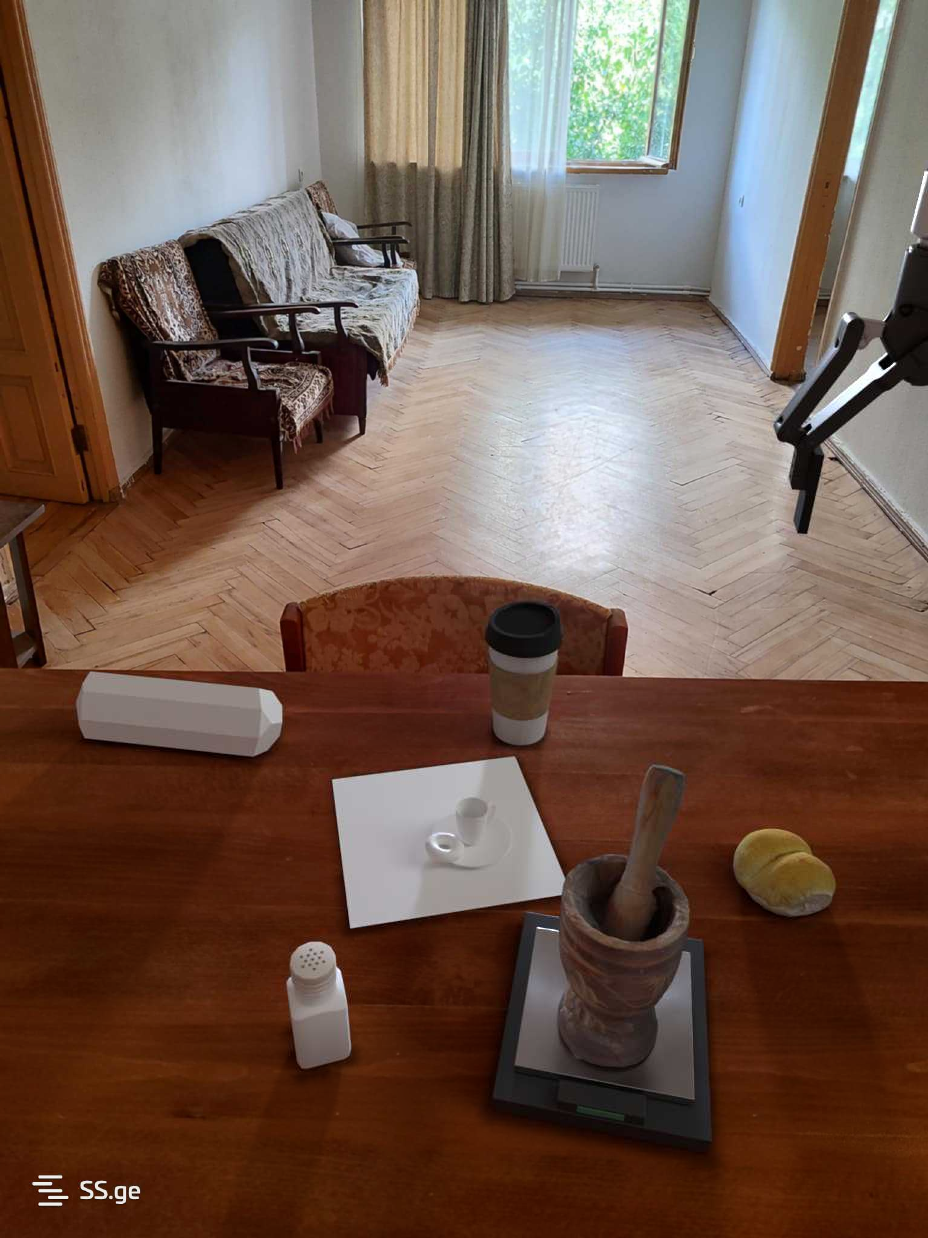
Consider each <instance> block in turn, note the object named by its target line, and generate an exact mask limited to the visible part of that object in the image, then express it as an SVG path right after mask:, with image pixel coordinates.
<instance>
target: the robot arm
mask: <svg viewBox="0 0 928 1238" xmlns="http://www.w3.org/2000/svg"><path fill="white" fill-rule="evenodd" d="M910 234H911V235H912V236H913V237H914V238H915V239H917V241H916V243H914V244H911V245H910V246H909V248H908V249H906V250H905V252H904V257H903V261H902V265H901V269H900V273H899V277H898V281H897V286H896V289H895V294H894V299H893V302H892V306H891V308H890V311H889V312H888V314H887V316H886V317H885V318H884V319H883V320H880V319H875V318H868V317H863V316H860V315H859V314H857V312H854V311H848V312H846V313H844V315H842V317H841V319H840V322H839V325H838V328H837V331H836V335H835V336H834V340H833V343H832V344H831V346H830V347H829V348H828V350H826V352H825V353H824V354H823V356H822V357H821V359H820V360H819V361H818V363H817V364H816V365H815V367H814V368H813V369H812V371H811V372H810V373H809V375H808V376H807V377H806V378H805V380H804V381H803V382H802V384H801V386H800V387H799V388H798V389H797V391H796V392H795V394H794V395H793V396H792V397H791V399H790V400H789V402H788V403H787V404H786V406H785V407H784V408H783V410H782V411H781V412H780V414H779V415H778V416H777V418H776V419H775V421H774V422H773V427H772V428H773V430H774V433H775V436H776V439H777V440H778V441H779V442H781V443H787V444H789V445H791V446H792V447H793V452H792V457H791V463H790V467H789V472H788V481H789V485H790V487H791V490H792V491H798V495H797V501H796V506H795V510H794V515H793V519H792V521H793V525H794V527H795V531H796V533H797V534H798V535H808V533H809V529H810V523H811V520H812V515H813V511H814V505H815V502H816V497H817V492H818V487H819V483H820V479H821V476H822V475H821V474H822V470H823V466H824V465H823V464H824V460H825V457H826V456H825V453H824V451H823V448H822V446H821V445H822V444H823V443H824V442H826V440H828V439H829V438H830V437H831V436H833V435H834V434H835V433H836V432H838V431H839V430H840V429H841V428H843V426H845V425H846V424H848V423H849V422H850V421H851V420H852V419H854V418H855V416H857V415H858V414H860V413H861V412H862V411H863V410H864V409H866V408H867V407H868V406H869V405H871V403H873V402H874V401H875V400H877V399H878V398H879V397H880V396H881V395H882V394H884V393H885V392H889V391H891V390H892V389H893V388H895V387H896V386H897V385H898V384H899V383H901V382H902V381H904V382H906V383H908V384H909V385H910V386H912V387H927V386H928V162H927V163H926V168H925V171H924V175H923V179H922V184H921V187H920V191H919V196H918V200H917V204H916V208H915V210H914V216H913V220H912V223H911V227H910ZM877 338H879V340H880V342H881V343H882V346H883V348H884V350H885V353H884V354H883V355H882V356H880V358H878V359H877V360H876V361H875V362H874V363H872V364H871V365H870V367H869V368H868V370H867V371H866V372H865V373H864V374H863V375H862V376H860V377H859V378H858V379H856V381H854V382H853V383H852V384H851V385H850V386H849V387H847V388H846V389H845V390H844V391H842V392H841V393H840V394H839V395H838V396H837V397H836V398H834V399H833V400H832V401H831V402H830V403H828V404H827V405H826V406H825V407H824V408H822V409H821V410H820V411H819V412H817V413H816V415H814V416H813V417H812V418H810V419H809V417H810V416H811V414H812V413H813V412H814V410H815V409H816V408H817V407H818V405H819V404H820V403H821V401H822V400H823V399H824V397H826V395H827V394H828V392H829V391H830V390H831V388H832V387H833V386H834V385H835V383H836V382H837V380H838V379H839V378H840V377H841V375H843V373H844V371H845V370H846V368H847V367H848V366H849V365H850V363H851V362H852V360H853V359H854V357H855V356H856V353H857V351H862V350H864V349H866V348H867V347H868V346H869V344H870V343H871V342H872V341H873V340H874V339H877ZM808 419H809V421H807V420H808ZM806 421H807V422H806ZM805 422H806V423H805Z"/></svg>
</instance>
